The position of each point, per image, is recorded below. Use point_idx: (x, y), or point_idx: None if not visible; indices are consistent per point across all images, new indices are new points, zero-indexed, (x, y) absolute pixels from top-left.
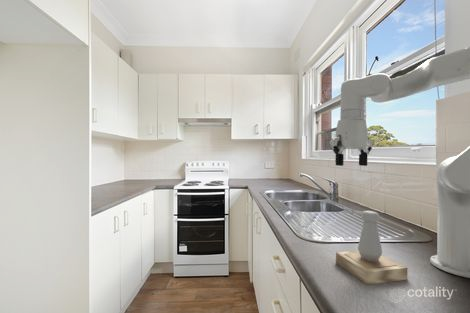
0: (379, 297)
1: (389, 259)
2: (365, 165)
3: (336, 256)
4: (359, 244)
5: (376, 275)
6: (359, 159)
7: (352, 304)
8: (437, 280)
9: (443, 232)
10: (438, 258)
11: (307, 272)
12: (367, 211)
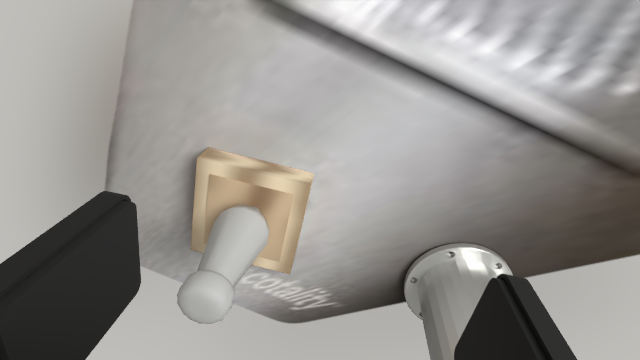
0: (190, 263)
1: (293, 239)
2: (462, 349)
3: (201, 154)
4: (214, 226)
5: None
6: (523, 349)
7: None
8: (346, 282)
9: (437, 339)
10: (436, 270)
11: (110, 152)
12: (193, 305)
